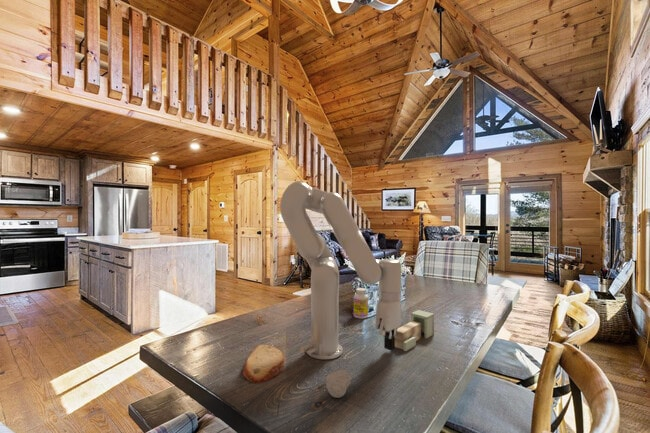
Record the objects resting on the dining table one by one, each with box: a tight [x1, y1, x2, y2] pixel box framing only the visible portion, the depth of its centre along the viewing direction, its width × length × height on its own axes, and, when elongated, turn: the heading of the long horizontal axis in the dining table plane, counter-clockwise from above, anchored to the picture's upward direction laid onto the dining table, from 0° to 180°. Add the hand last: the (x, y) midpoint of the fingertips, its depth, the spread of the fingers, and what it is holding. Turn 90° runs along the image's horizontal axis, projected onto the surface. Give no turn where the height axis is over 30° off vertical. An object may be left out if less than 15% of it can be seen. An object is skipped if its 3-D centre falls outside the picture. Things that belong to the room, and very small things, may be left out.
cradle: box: [402, 337, 417, 352], centre depth 113 cm, size 7×7×3 cm
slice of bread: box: [242, 344, 285, 384], centre depth 98 cm, size 18×18×4 cm
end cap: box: [410, 309, 435, 339], centre depth 124 cm, size 6×7×8 cm
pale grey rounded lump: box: [325, 369, 352, 399], centre depth 81 cm, size 6×7×7 cm
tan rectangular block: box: [394, 320, 422, 350], centre depth 116 cm, size 14×4×6 cm, turn 137°
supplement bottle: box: [353, 287, 369, 320], centre depth 144 cm, size 7×7×13 cm
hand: (389, 348), depth 107 cm, fingers closed
